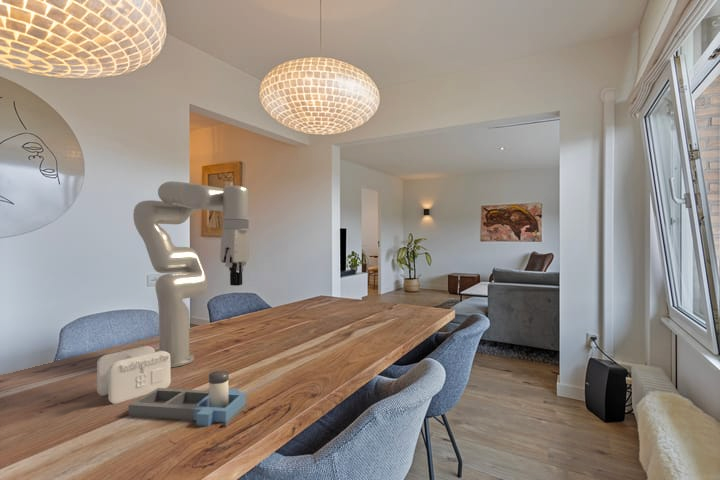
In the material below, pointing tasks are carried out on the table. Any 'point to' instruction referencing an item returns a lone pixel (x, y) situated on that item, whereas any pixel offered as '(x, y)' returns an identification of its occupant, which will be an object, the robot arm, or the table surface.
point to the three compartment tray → (187, 406)
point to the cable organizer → (132, 373)
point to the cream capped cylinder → (219, 389)
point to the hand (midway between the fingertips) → (236, 285)
